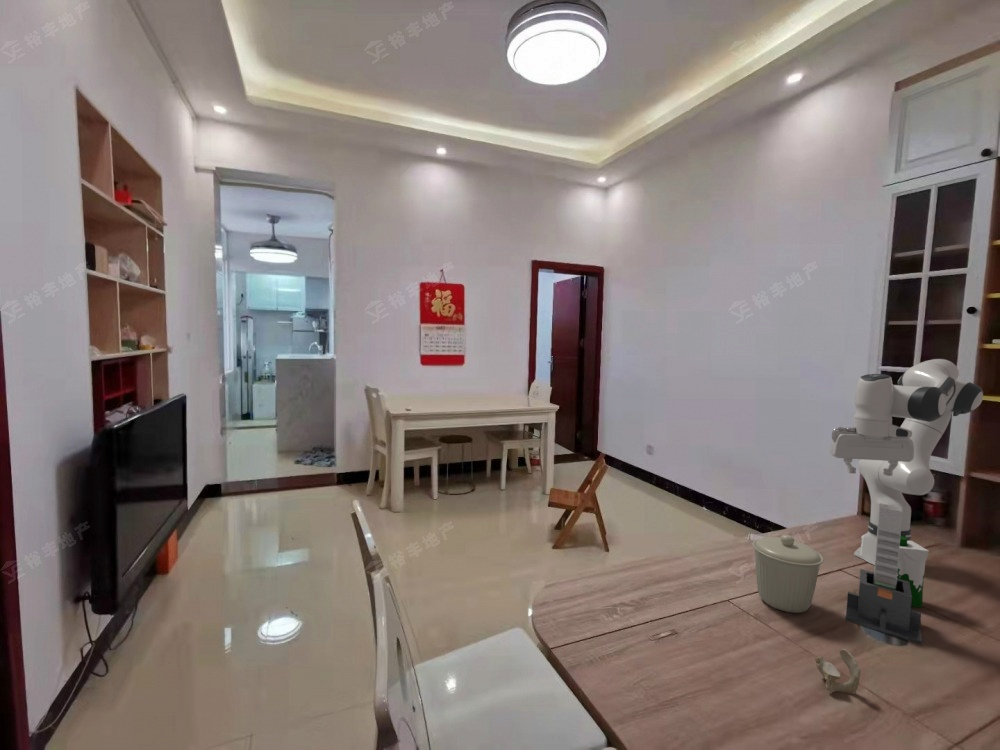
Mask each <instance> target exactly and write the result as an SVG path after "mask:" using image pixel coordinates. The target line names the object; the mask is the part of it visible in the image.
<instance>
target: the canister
mask: <svg viewBox="0 0 1000 750" xmlns="http://www.w3.org/2000/svg"><path fill="white" fill-rule="evenodd" d="M751 545H752V548H753V549H754V558H755V559H754V561H755V563H754V564H755V576H756V577H755V578H756V588H757V592H758V595H759V597H760V599H761V600H762V601H763V602H764V603H766V605H768V606H770V607H773V608H774V609H777V610H779V611H783V612H786V613H793V614H800V613H804V612H806V611H808V609H810V607H811V605H812V603H813V599H814V594H815V590H816V585H817V582H818V581H817V580H818V576H819V572H820V568H821V564H823V563H824V557H823V556H822V555H821V553H820V552H818V551H816V550H815V549H814V548H812V547H811V546H809V545H807V544H805V543H802V542H800V541H797V540H795V538H794V537H793V536H791V535H789V534H782V535H781V536H780V537H779V536H778V537H777V536H763V537H760V538H757V539H755V540H752V543H751Z"/></svg>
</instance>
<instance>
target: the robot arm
mask: <svg viewBox="0 0 1000 750" xmlns="http://www.w3.org/2000/svg"><path fill="white" fill-rule="evenodd" d="M959 376H960V375H959V369H958V366H957V365H956V364H955V363H953V362H952V361H950V360H948V359H945V358H932V359H929V360H924V361H922V362H919V363H917V364H915V365H913V366H911V367H909V368H908V369H907V370H906V371H904V372H903V373H902V375H901V376H900V377H899V379H898V380H897V384H893V380H892V376H890V375H888V374H885V373H871V374H864V375H862V376H860V377H858V380H857V384H856V387H855V388H856V389H855V394H854V406H855V413H854V415H853V427H842V426H840V427H837V428H834V429H833V430H832V432H831V443H830V448H829V449H830V450H829V453H830V454H831V456H832V457H834V458H837V459H843V462H844V464H845V465H846V467H847V468H846V469H847V470H846V471H847V473H848V474H856V473H857V468H856V467H855V466H853V465H852V463H853V460H859V462H858V464H857V466H858V472H859V473H860V474H861V476H862V477H863V478H864V480H865V482H866V486H867V489H868V492H869V493H868V494H869V496H870V517H869V519H870V520H868V523H867V532H866V533H864V534H863V535H861V536H860V541H861V543H860V547H858V548H857V549H856V550H855V551H854V552H853V555H854V557H855V556H856V557H858V558H860V559H862V560H863V561H866V562H867V563H868V564H872V565H873V566H875V555H876V542H877V529H878V517H879V504H886V505H891V506H897V507H902V523H901V535H900V536H904V537H906V538H907V541H911V540H912V539H911V537H912V530H911V518H912V507H911V505H910V504H909V503H908V502H907V500H906V498H905V497H904V495H903V494H907V495H915V496H924V495H926V494H928V493H930V492H931V491H932V489H933V488H934V485H935V477H934V475H933V473H932V471H931V469H930V462H931V461H930V459H931V456H932V453H933V452H934V450H935V448H936V446H937V444H938V443H939V441H940V439H942V436H943V435H944V433H945V432H946V429H947V428H948V425H949V423H950V421H951V419H952V418H951V417H958V416H959V415H967V414H968V413H971V412H973V411H975V410H976V409H977V408H978V407H979V406H980V405H981V403H982V402H983V398H984V390H983V388H982V386H979V385H977V384H976V383H973V382H967V381H964V380H962V379H959V378H958V377H959ZM893 417H895V418H900V419H901V418H903V419H904V420H903V422H902V424H901V425H900V426H899V425H896V424H893Z"/></svg>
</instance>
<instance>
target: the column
mask: <svg viewBox="0 0 1000 750" xmlns="http://www.w3.org/2000/svg"><path fill="white" fill-rule="evenodd" d="M901 523H902V507H897V506H891V505H886V504H879V517H878V529H877V542H876V555H875V565H874V569H873V572H874V580H873V584H874V585H878V586H881V587H885V588H889V589H892V590H896V584H897V571H898V559H899V547H900V535H901Z"/></svg>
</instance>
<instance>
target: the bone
mask: <svg viewBox="0 0 1000 750" xmlns="http://www.w3.org/2000/svg"><path fill="white" fill-rule="evenodd" d="M838 652H839V655H840V658H841V660H842V661H843V663H845V665H846V666H847V668H848V671H849V679H848V680H847V681H846V682H844V683H840V682H837V680H840V679H841V674H840V671H839V670H838V669H837V667H836V666H835V665H834V664H833V663H831V662H828V661H826V659H825V658H824V656H821V655H818V656H816V658H814V660H815V663H816V667H817V670H818V672H819V673H820V674H821V676H822V677H823V678H824V679H825V680H826V681H825V680H824V679H823V678H822V679H823V680H824V681H825V689H826V690H828V691H829V692H830V694H833V693H834V692H843V693H847V694H852V695H856V694H857V691H858V686H859V685H860V678H861V675H862V674H861V669H860V666H859V665H858V663H859V662H858V661H857V659H856V658H855V657H854V656H853V655H852V653H851V652H849V651H848V650H847V649H845V648H842V649H839V651H838ZM832 692H833V693H832Z"/></svg>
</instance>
